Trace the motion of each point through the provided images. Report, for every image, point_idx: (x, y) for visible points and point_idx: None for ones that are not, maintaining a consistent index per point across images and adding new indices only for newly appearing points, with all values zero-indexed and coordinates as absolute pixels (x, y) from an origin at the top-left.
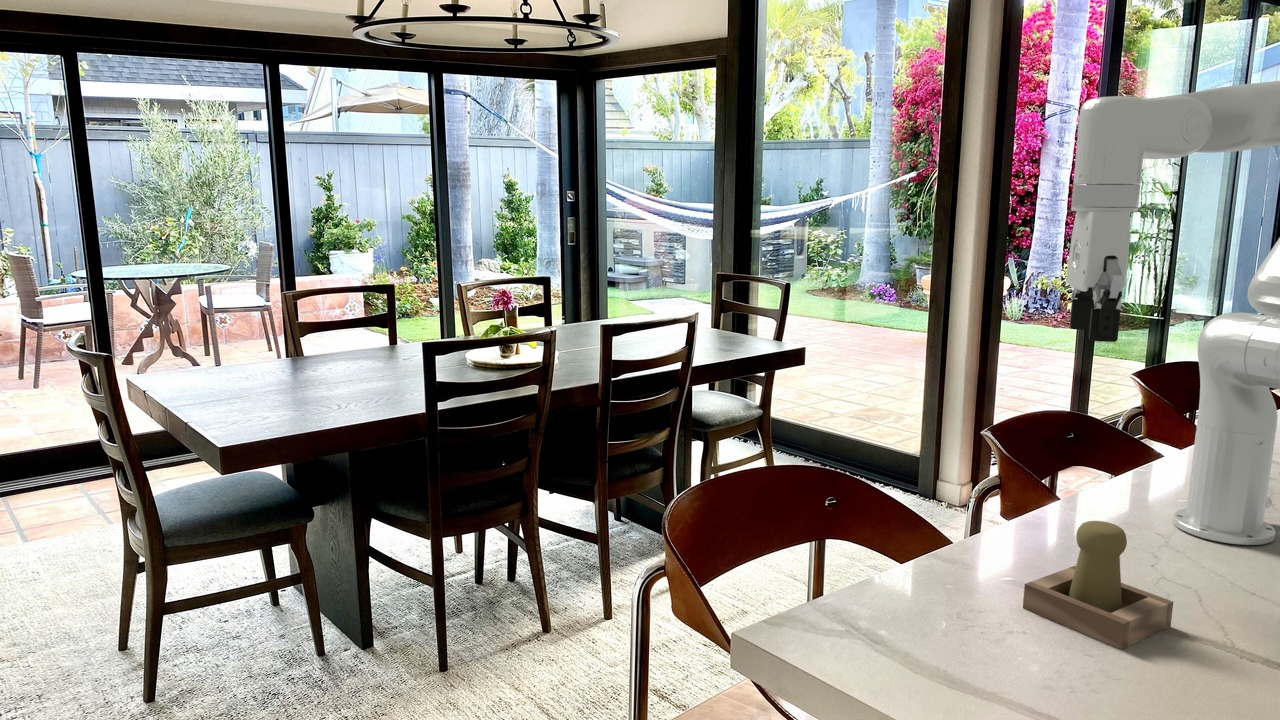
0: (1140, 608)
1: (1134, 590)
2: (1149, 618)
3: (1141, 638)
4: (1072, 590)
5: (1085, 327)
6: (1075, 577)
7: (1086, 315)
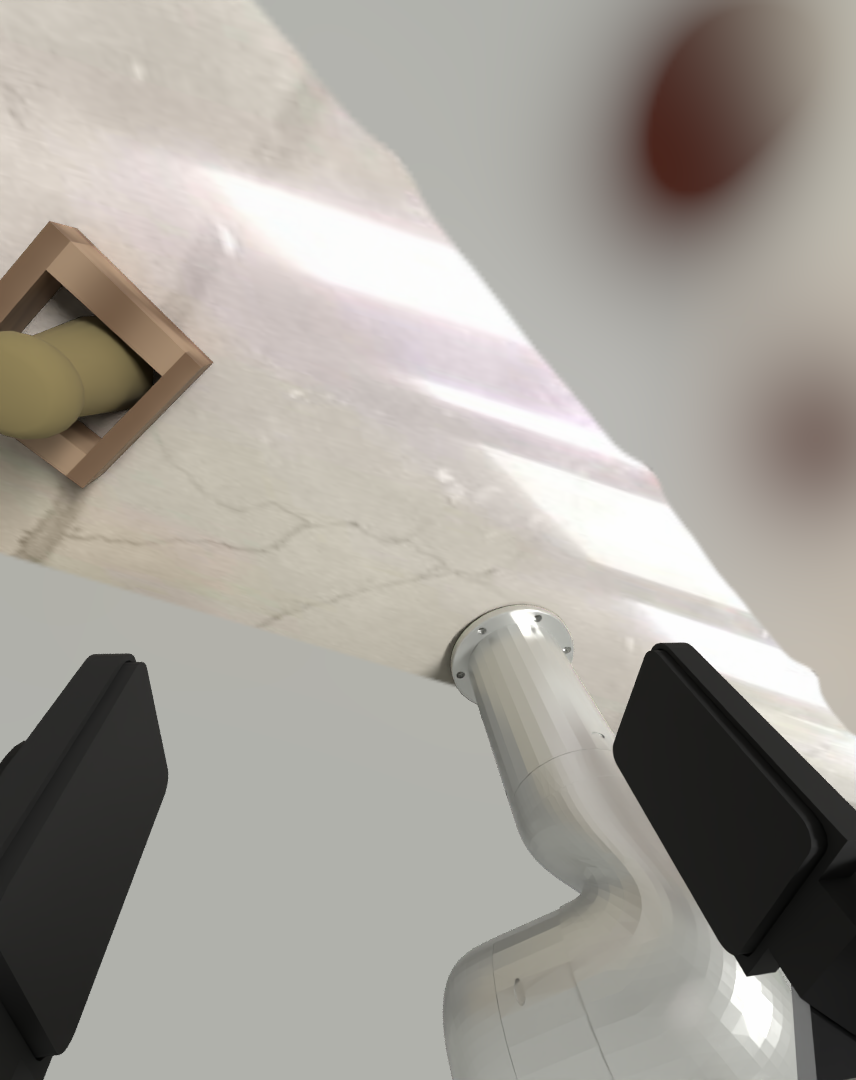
0: None
1: (109, 440)
2: None
3: None
4: (68, 324)
5: (629, 717)
6: (55, 329)
7: (678, 787)
